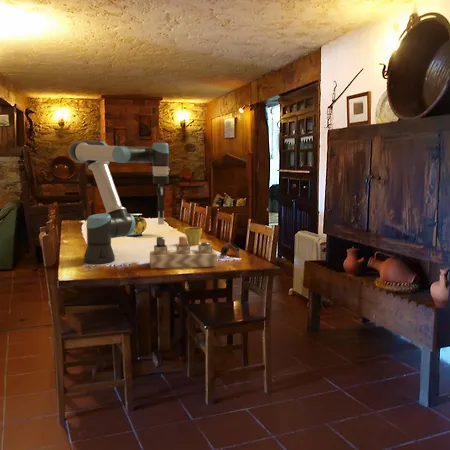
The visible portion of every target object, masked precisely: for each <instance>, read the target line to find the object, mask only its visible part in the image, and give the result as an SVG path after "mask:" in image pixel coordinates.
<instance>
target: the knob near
mask: <svg viewBox="0 0 450 450" xmlns="http://www.w3.org/2000/svg"><path fill="white" fill-rule="evenodd" d="M156 245H157V247H165V245H166V237H165V236H157V237H156Z"/></svg>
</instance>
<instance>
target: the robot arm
mask: <svg viewBox="0 0 450 450" xmlns="http://www.w3.org/2000/svg"><path fill="white" fill-rule="evenodd" d="M169 149H170V148H169V144H168V143H167V142H153V143H152V146H125V145H122V146H121V145H120V146H119V145H109V144H107V143H106V142H105V141H101V140H100V141H99V140H83V139H82V140H75V141H73V142H72V143H71V144H70V145H69V147H68V150H67V151H68V152H67V153H68V156H69V158H70V159H71V160H72V161H73V162H75V163H77V164H78V163H79V164H86V165H87V169H88V170H91V171H92V174H93V177H94V179H95V183H96V186H97V188H98V191H99V194H100V195H99V196H100V197H101V200H102V203H103V207H104V208H105V212H103V213H96V214H92V215H89V216H87V219H86V245H87V246H86V249H85V252H84V255H83V262H84V263H86V264H92V263H93V264H92V265H96V264H97V265H99V264H100V263H103V264H109V263H108V262H110V263H112V262H115V260H116V256H115V254H114V253H115V252H114V250H113V247H112V239H116V238H121V237H122V238H125V237H126V236H130V235H132V233H134V231H135V229H136V219H135V217H134V216H133V215H132V214H131V213H129V212H128V211H127V208H126V207H124V206H122V205H123V204H122V203H121V200H120V199H121V198H120V196H119V194H118V190H117V188H116V185H115V183H114V179H113V176H112V173H111V171H110V168H109V165H110V162H115V163H120V164H126V163H127V164H128V163H131V164H132V163H134V164H135V163H142V164H144V163H147V164H149V163H151V164H152V183H153V185H157V187H156V196H157V209H156V211H157V213H158V214H157V221H158V222H157V224H158V225H164V224H165V211H166V208H165V197H166V187H165V186H164V185H167V184H169V182H170V179H169V177H170V176H169V175H170V174H169V172H170V170H171V169H170V168H169V162H170V161H169V157H170V155H169V154H170V151H169ZM100 265H101V264H100Z"/></svg>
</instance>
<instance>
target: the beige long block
mask: <svg viewBox="0 0 450 450" xmlns="http://www.w3.org/2000/svg"><path fill="white" fill-rule="evenodd" d="M197 248H198V249H191V245H189V244H188V243H187V246H186V247H180V246H179V244H176V249H175V250H171V249H170V250H168V246H167V244H165V247H157V244H154V245H153V250H149V264H150V265H149V267H150V269H168V268H169V269H170V268H172V269H173V268H175V269H176V268H202V267H203V268H204V267H218V254H217V252H216V251H215V249H213V245H212V244H211V243H209V246H201V243H199V244H198V247H197Z"/></svg>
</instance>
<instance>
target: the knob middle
mask: <svg viewBox="0 0 450 450" xmlns="http://www.w3.org/2000/svg"><path fill="white" fill-rule="evenodd" d="M187 244H188V241H187V236H178V245H179V246H180V247H186V246H187Z"/></svg>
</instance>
